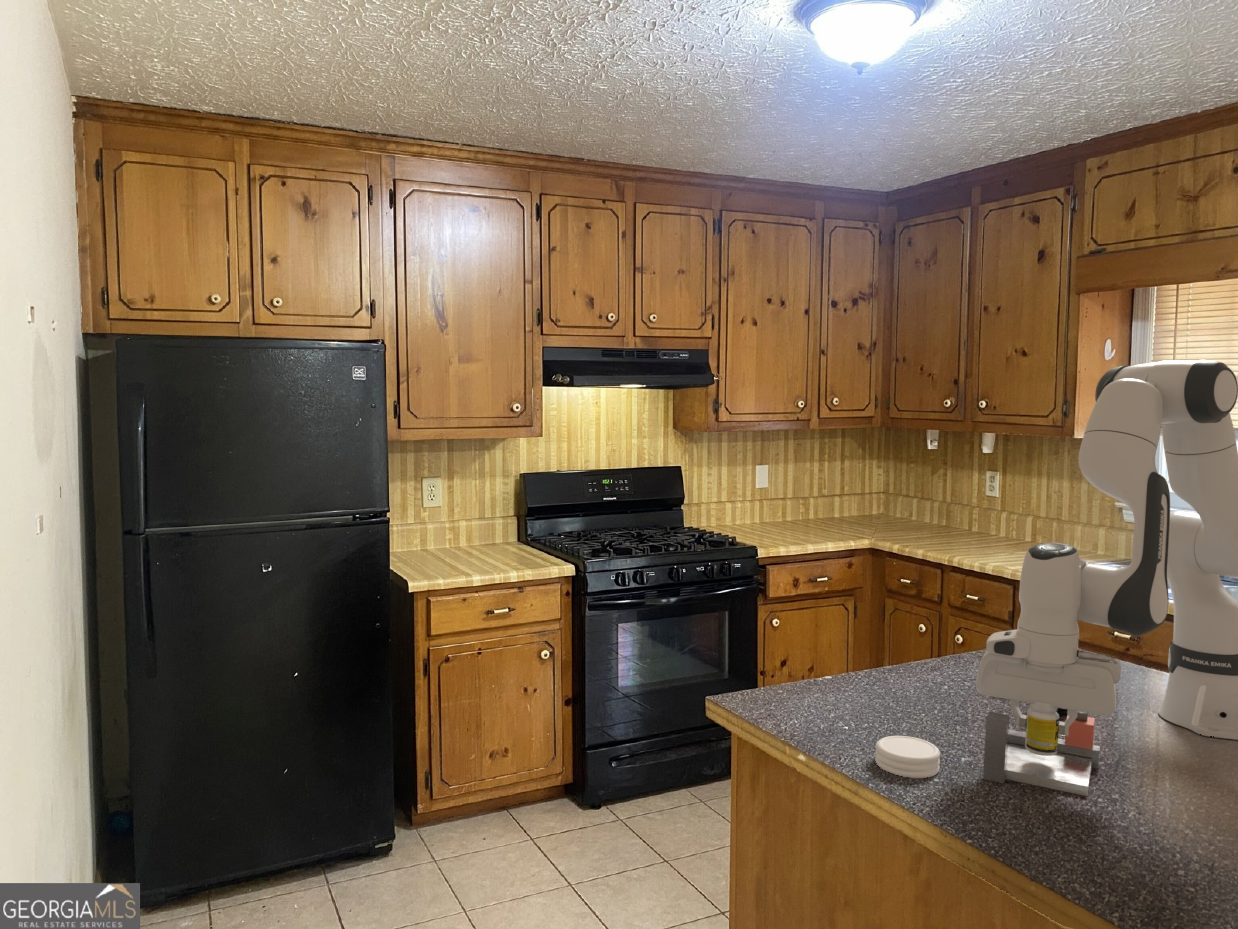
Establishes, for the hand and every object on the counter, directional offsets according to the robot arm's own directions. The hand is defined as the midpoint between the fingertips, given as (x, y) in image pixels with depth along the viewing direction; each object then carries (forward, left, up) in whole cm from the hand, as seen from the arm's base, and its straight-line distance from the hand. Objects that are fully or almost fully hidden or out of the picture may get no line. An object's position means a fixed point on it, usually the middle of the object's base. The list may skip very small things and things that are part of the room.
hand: (1042, 730), depth 144 cm
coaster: (+19, +9, -7) cm, 22 cm away
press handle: (-5, -8, -4) cm, 10 cm away
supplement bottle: (0, 0, -4) cm, 4 cm away
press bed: (0, 0, -7) cm, 7 cm away
